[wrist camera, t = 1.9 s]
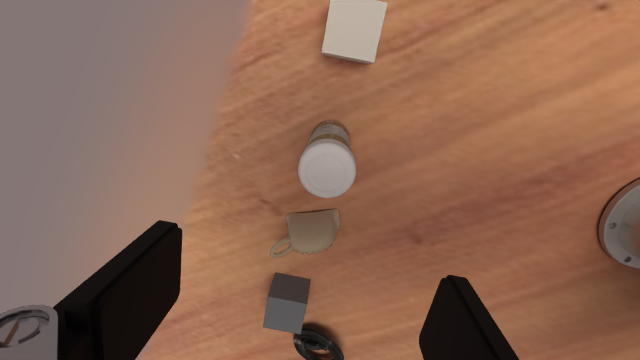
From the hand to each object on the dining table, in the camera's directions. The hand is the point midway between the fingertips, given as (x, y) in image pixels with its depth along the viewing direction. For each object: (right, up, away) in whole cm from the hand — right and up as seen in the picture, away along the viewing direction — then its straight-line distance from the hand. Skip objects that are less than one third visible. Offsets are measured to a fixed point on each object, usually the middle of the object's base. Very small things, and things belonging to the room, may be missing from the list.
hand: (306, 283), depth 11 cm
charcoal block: (-4, -12, +33) cm, 35 cm away
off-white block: (+4, +19, +22) cm, 29 cm away
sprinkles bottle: (+2, +9, +25) cm, 27 cm away
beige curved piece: (-1, -2, +29) cm, 29 cm away
